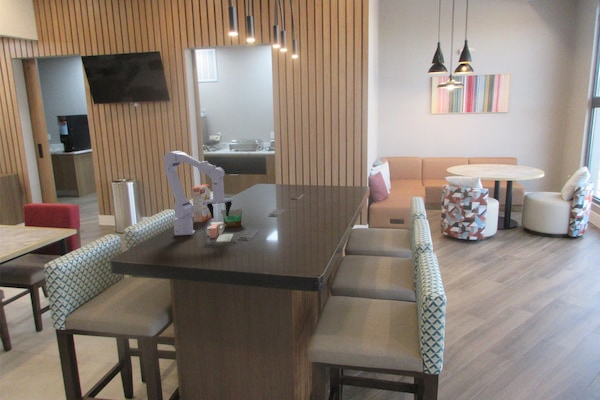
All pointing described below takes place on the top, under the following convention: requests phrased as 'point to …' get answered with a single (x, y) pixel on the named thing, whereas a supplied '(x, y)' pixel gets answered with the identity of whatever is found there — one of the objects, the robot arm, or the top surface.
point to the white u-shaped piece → (220, 229)
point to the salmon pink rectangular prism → (214, 230)
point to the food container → (232, 218)
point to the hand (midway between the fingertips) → (220, 217)
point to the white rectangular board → (224, 238)
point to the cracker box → (201, 202)
